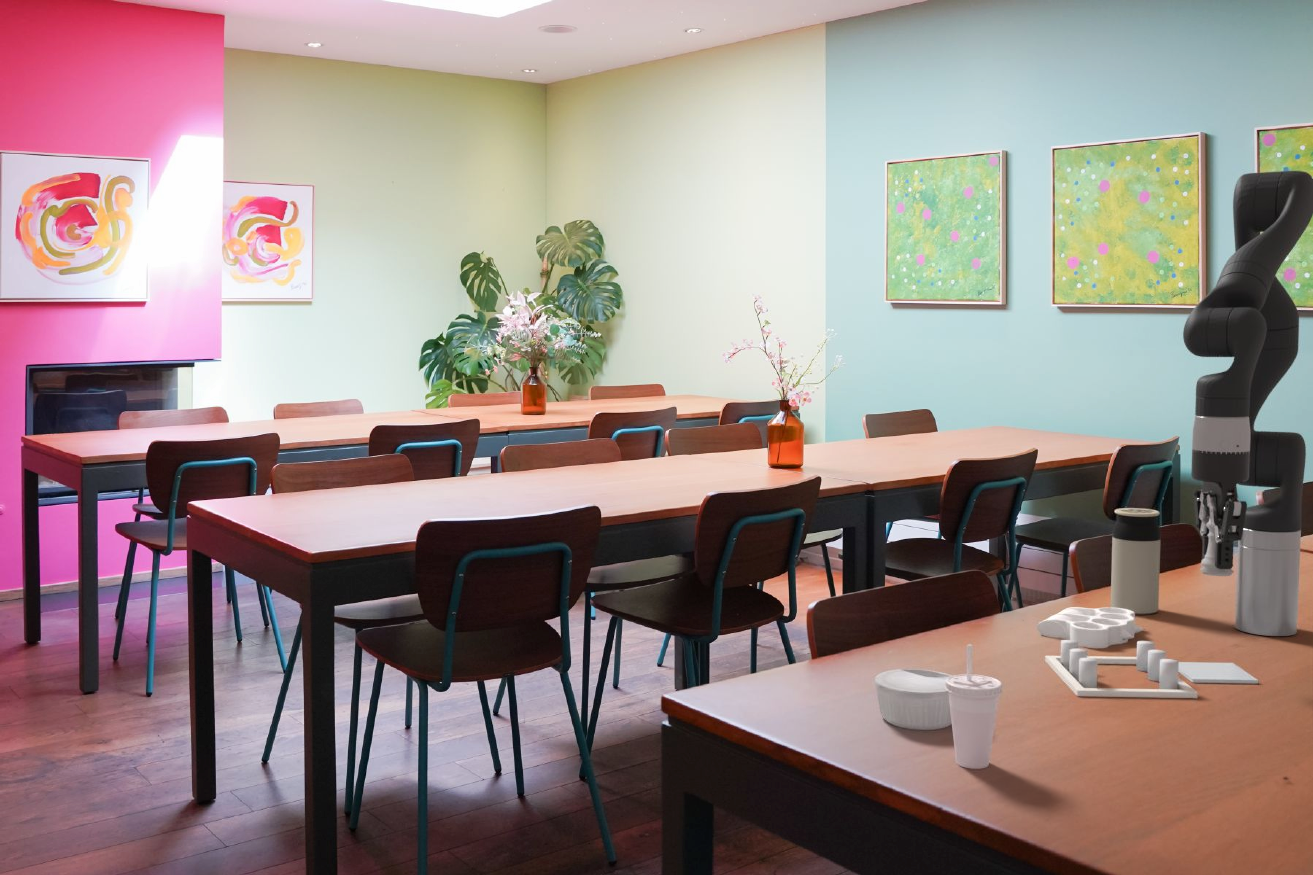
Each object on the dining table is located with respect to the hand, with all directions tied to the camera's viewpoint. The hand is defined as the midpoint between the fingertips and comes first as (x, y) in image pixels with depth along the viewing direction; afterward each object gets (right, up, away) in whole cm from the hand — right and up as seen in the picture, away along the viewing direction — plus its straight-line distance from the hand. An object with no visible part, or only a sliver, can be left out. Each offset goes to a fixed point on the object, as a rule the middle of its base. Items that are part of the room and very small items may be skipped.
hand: (1216, 564), depth 174 cm
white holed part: (-9, -15, +25) cm, 30 cm away
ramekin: (-47, -18, -18) cm, 54 cm away
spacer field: (-15, -16, -1) cm, 22 cm away
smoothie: (-44, -20, -34) cm, 59 cm away
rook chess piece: (0, -1, 0) cm, 1 cm away
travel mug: (+5, -13, +42) cm, 44 cm away
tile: (0, -16, +1) cm, 16 cm away
